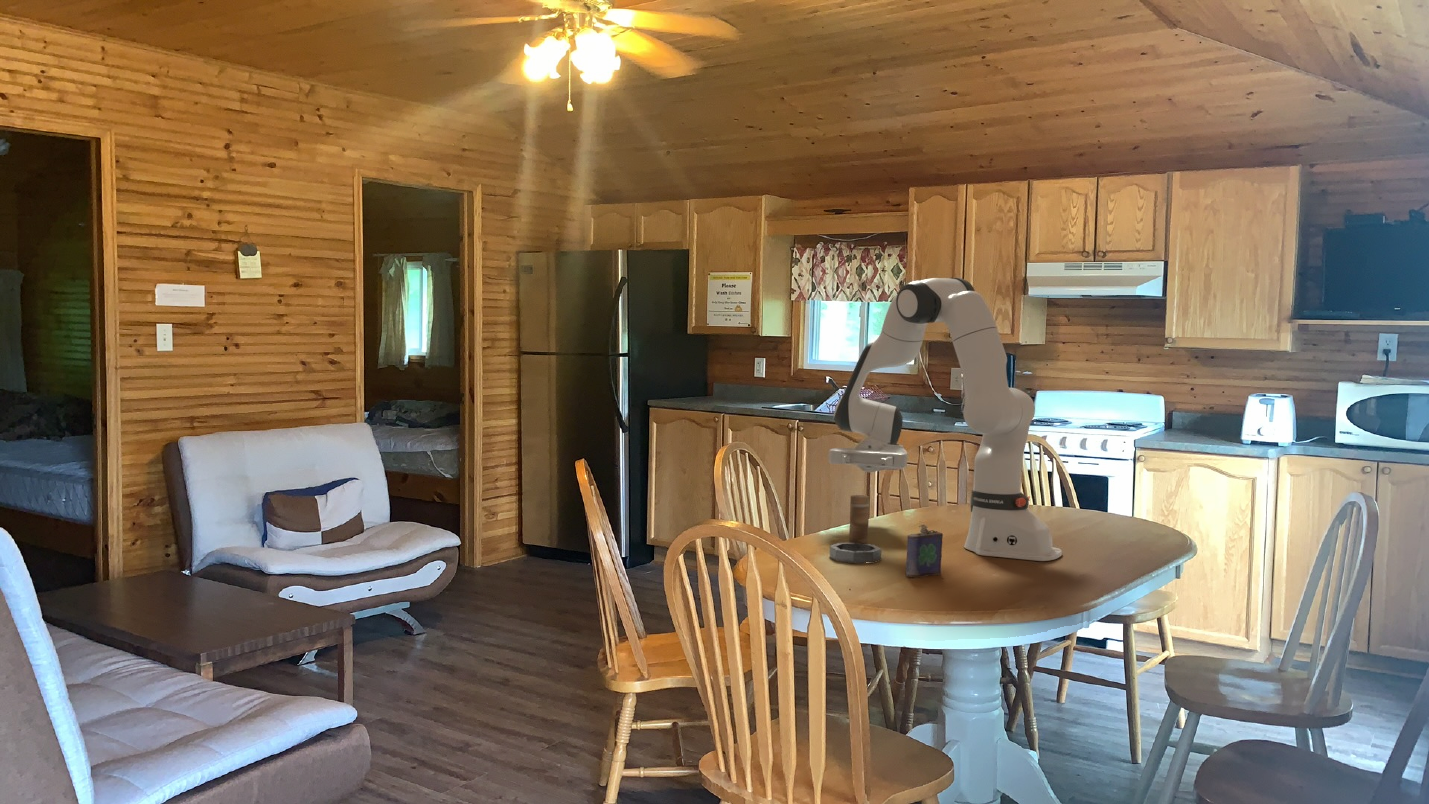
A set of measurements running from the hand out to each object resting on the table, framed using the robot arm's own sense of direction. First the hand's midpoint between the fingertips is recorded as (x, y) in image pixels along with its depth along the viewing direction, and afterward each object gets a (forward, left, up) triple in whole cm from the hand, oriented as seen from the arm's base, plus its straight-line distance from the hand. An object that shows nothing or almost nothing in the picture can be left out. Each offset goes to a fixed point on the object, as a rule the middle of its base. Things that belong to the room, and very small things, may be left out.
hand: (865, 461), depth 269 cm
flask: (-29, +31, -19) cm, 47 cm away
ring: (-10, +25, -19) cm, 33 cm away
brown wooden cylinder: (-4, +11, -19) cm, 23 cm away
